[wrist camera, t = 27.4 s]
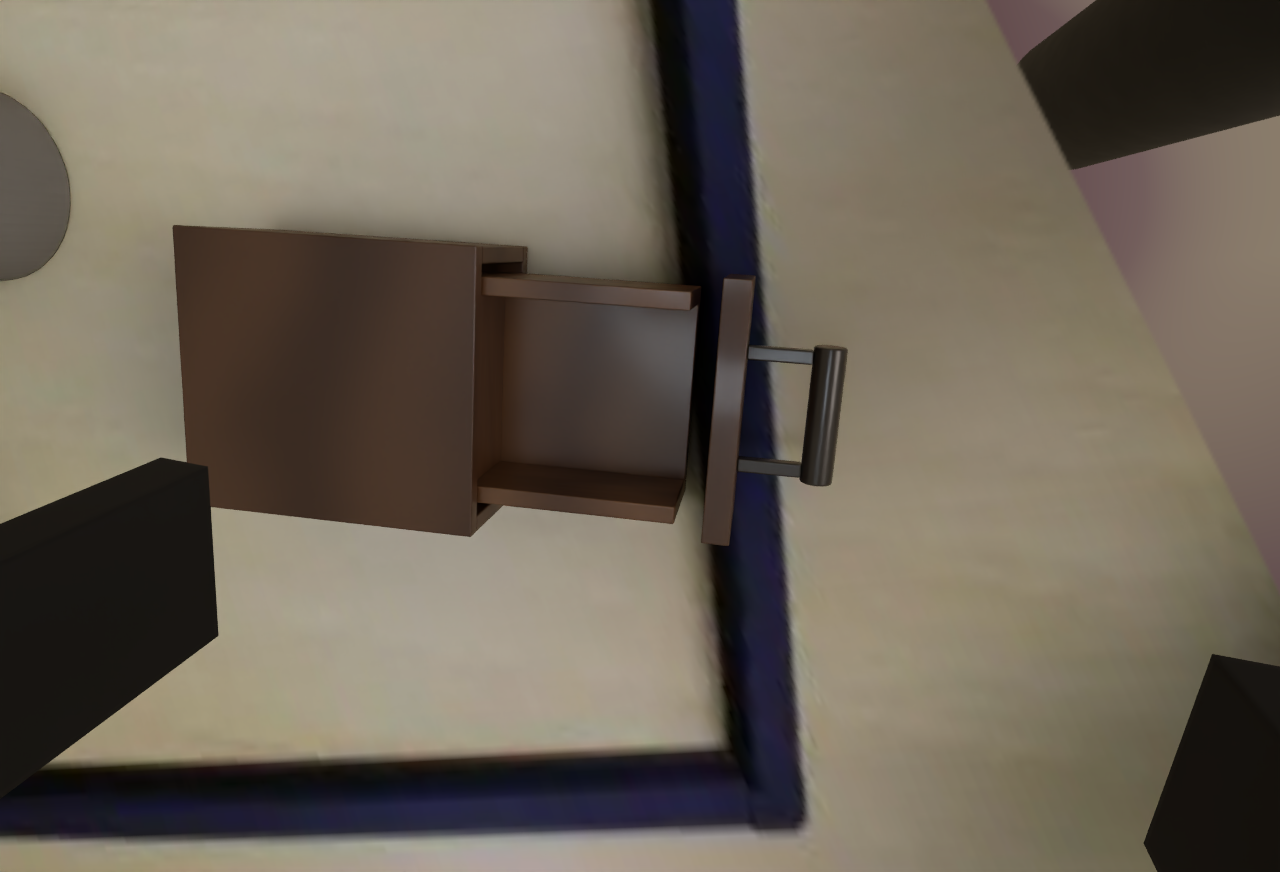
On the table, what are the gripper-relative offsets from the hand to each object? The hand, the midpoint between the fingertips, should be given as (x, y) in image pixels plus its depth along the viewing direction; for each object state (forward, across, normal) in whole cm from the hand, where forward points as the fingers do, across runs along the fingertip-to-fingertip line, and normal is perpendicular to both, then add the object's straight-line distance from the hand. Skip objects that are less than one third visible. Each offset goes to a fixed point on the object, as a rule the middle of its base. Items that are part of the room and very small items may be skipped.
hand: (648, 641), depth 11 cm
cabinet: (+29, -19, -5) cm, 35 cm away
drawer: (+29, -5, -4) cm, 30 cm away
